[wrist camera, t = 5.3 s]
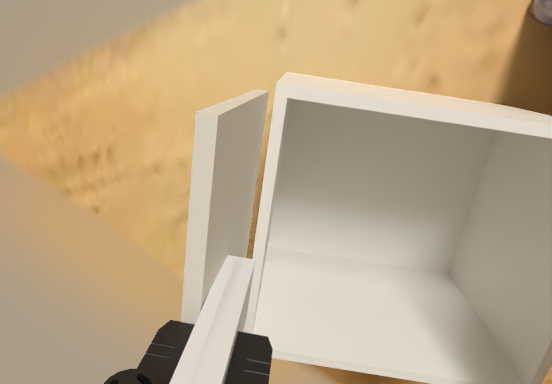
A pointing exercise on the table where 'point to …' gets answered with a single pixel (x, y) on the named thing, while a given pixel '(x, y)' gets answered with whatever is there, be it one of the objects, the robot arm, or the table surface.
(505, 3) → the table surface
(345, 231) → the carton
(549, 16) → the purple green package
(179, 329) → the robot arm
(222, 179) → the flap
